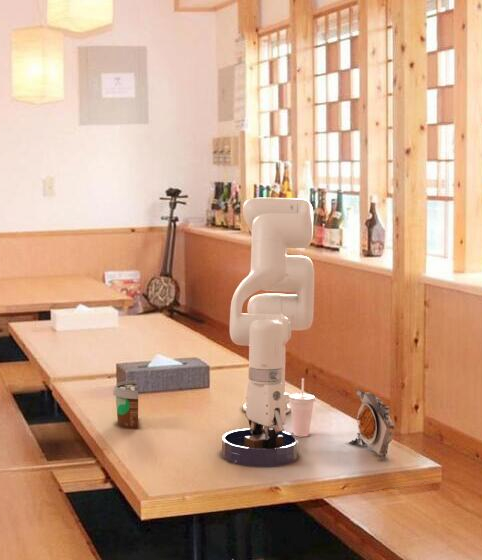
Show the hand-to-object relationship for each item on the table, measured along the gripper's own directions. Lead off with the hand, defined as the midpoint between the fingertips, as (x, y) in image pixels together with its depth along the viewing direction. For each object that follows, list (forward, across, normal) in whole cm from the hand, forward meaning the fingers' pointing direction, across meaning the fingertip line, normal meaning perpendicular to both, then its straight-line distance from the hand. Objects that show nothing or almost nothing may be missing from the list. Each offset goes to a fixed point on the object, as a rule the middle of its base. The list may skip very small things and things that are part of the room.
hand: (263, 452), depth 240 cm
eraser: (0, 0, 0) cm, 0 cm away
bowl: (+1, +2, 0) cm, 2 cm away
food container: (+1, +40, +15) cm, 43 cm away
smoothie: (+1, +12, -19) cm, 22 cm away
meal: (+1, -8, -25) cm, 26 cm away
